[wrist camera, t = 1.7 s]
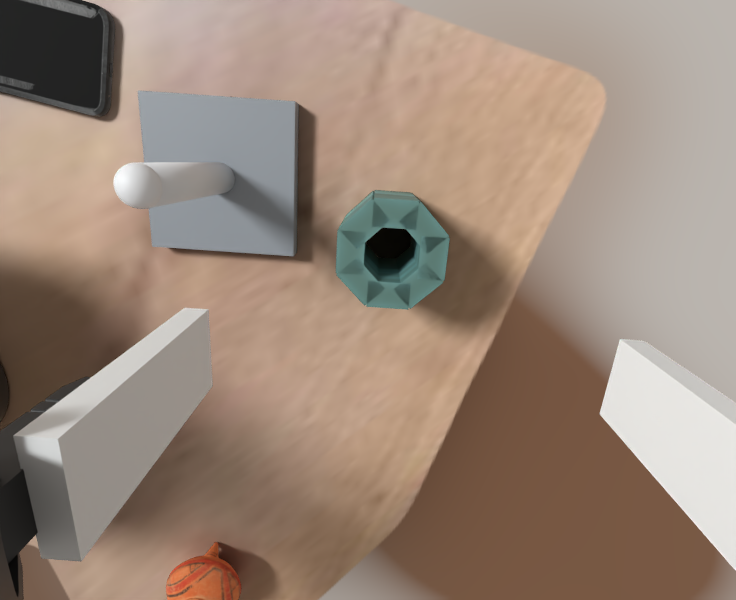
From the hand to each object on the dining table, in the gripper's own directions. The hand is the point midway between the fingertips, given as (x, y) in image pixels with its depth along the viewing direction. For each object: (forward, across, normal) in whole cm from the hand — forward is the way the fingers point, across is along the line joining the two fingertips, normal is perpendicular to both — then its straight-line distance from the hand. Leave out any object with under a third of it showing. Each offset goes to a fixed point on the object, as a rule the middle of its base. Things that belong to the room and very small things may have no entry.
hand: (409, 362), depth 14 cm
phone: (+25, +30, -13) cm, 41 cm away
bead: (+24, 0, 0) cm, 24 cm away
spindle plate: (+24, +14, -4) cm, 28 cm away
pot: (+24, +17, +39) cm, 49 cm away
